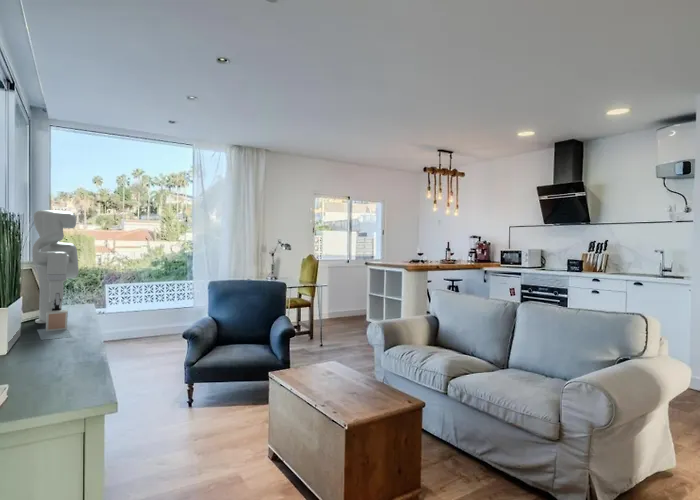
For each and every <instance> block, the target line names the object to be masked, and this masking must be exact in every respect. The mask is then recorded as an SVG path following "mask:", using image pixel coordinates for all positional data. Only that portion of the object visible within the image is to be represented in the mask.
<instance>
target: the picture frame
mask: <svg viewBox="0 0 700 500" xmlns="http://www.w3.org/2000/svg"><path fill="white" fill-rule="evenodd" d="M45 329H46V331H53V330H64V329H67V330H68V309H62V310H57V311H46V323H45Z"/></svg>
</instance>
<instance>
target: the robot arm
mask: <svg viewBox="0 0 700 500" xmlns="http://www.w3.org/2000/svg"><path fill="white" fill-rule="evenodd" d="M33 223H34V227H35V230H36V231H37V234H38V235H39V238H38V239H36V241H35V242H34V243H33V245H32V263H33V264H34V265H35V266H37V275H38V283H39V285H38V287H39V296H38V297H39V302H38V305H39V306H38V307H39V312H38V314H39V315H38V318H36V319H35V323H36V324H46V311H57V310H63V309H62V308H63V306H62V305H63V301H64V282H67V279H75V278H77V277H78V276H79V272H80V271H79V270H80V269H79V261H78V260H79V259H78V257H79V256H78V249H77V246H76V245H75V244H74V243H71V242H61V241H62V240H63V239H64V236H65V235H64V229H74V228H75V227H76V225H77V217H76V215H75V213H74V212H72V211H65V210H51V209H42V210H41V209H40V210H37V211H35V212H34V214H33Z"/></svg>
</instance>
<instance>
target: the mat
mask: <svg viewBox="0 0 700 500" xmlns="http://www.w3.org/2000/svg"><path fill="white" fill-rule="evenodd" d="M36 331H37V333H38V335H39V338H40V340H41V341H45V340H48V341H51V340H55V339H58V340H59V339H64V338H66V339H69V338H73V336H72V334H71V333H70V331H69V330H68V328H67V329H64V330H53V331H46V328H40V329H36Z"/></svg>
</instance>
